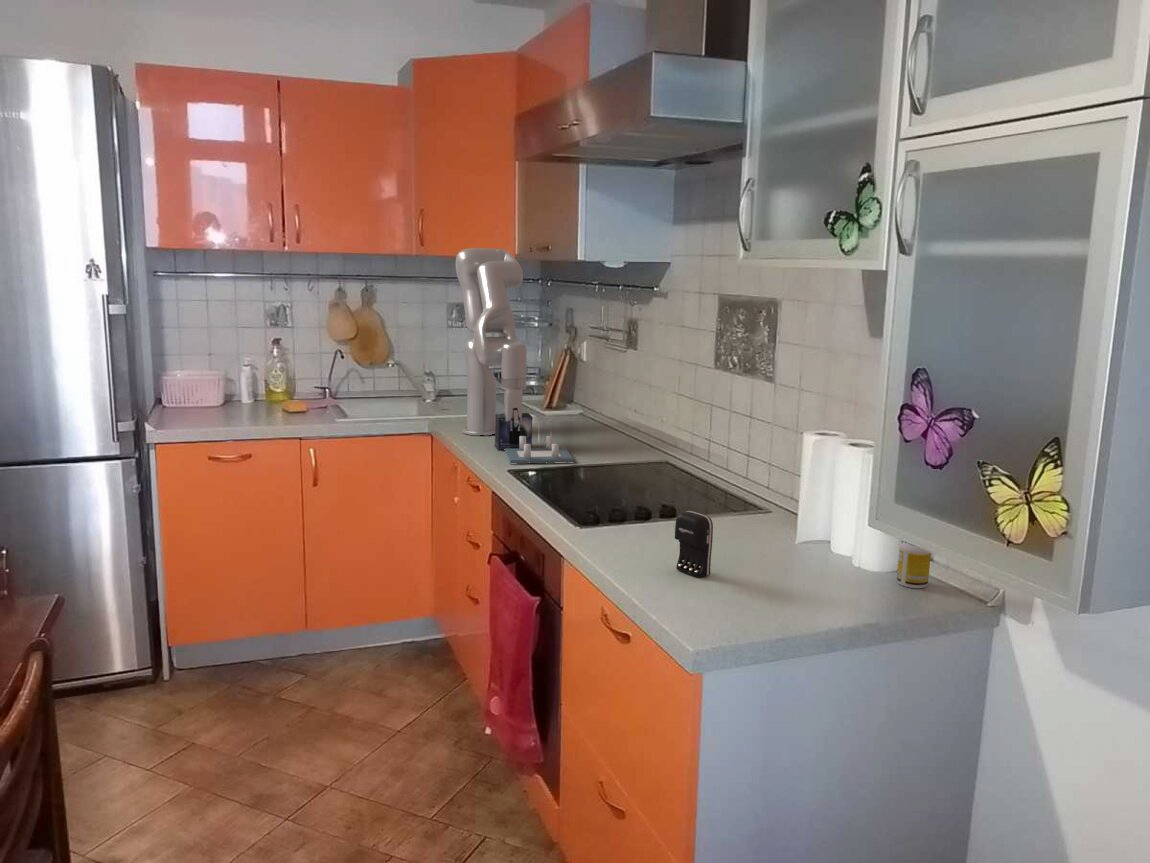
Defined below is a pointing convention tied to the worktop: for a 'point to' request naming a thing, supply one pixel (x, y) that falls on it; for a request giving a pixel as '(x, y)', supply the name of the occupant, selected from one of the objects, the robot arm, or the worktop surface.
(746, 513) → the worktop surface
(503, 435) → the small box
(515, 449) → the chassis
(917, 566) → the supplement bottle
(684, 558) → the battery charger
